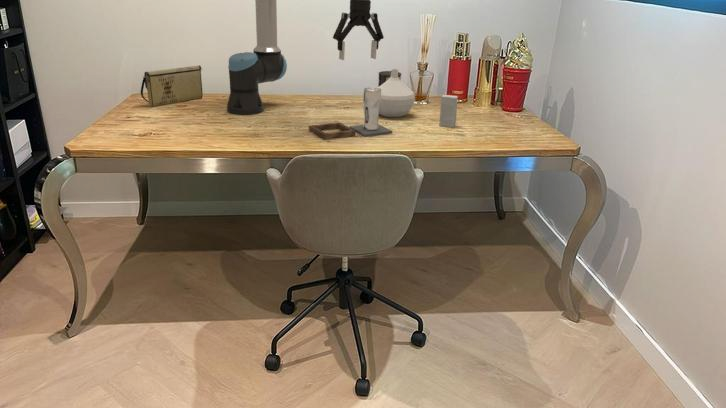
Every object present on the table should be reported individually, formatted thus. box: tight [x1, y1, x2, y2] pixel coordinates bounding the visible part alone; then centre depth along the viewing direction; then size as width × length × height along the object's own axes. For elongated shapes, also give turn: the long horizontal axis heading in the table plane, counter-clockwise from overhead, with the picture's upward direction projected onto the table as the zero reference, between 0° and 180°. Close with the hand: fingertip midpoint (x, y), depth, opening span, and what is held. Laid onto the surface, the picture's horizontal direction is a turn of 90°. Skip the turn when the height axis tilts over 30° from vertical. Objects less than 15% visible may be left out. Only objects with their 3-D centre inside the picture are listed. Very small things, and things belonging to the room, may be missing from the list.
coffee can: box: [377, 70, 402, 88], centre depth 251 cm, size 10×10×14 cm
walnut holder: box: [308, 121, 357, 141], centre depth 204 cm, size 13×13×2 cm
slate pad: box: [348, 123, 393, 138], centre depth 209 cm, size 12×12×1 cm
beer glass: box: [362, 87, 382, 131], centre depth 206 cm, size 7×7×15 cm
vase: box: [377, 68, 416, 118], centre depth 230 cm, size 18×18×19 cm
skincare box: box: [439, 94, 459, 128], centre depth 218 cm, size 6×4×12 cm
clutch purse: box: [140, 65, 203, 108], centre depth 240 cm, size 30×7×15 cm, turn 141°
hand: (357, 59), depth 206 cm, fingers open, 13 cm apart
